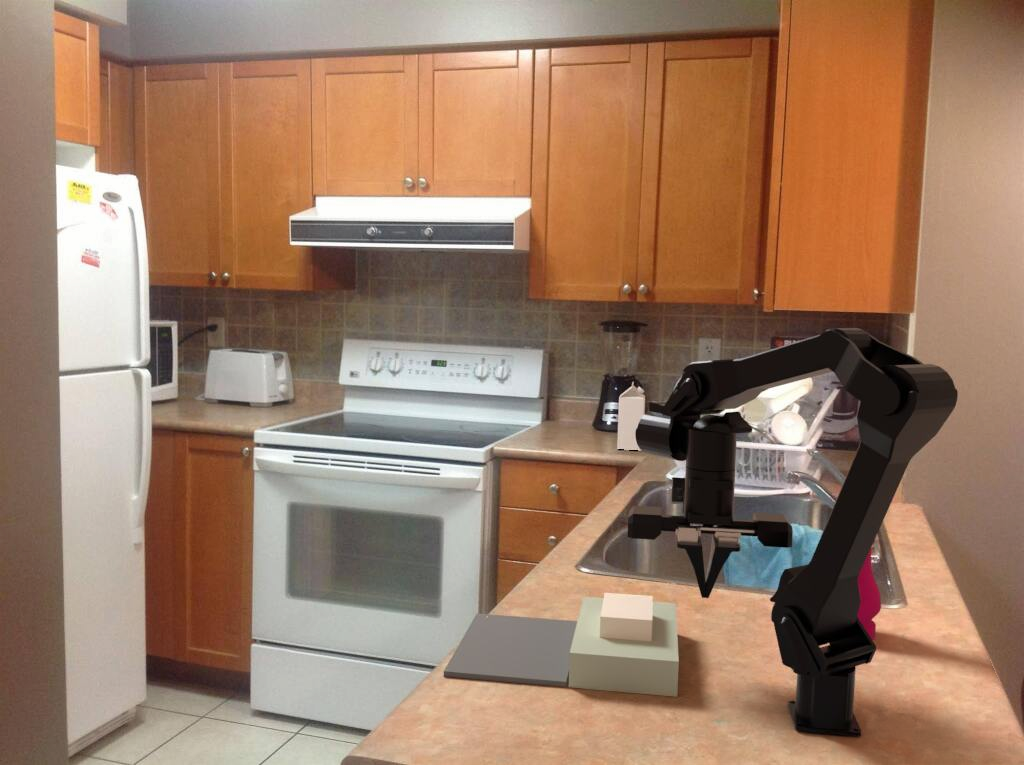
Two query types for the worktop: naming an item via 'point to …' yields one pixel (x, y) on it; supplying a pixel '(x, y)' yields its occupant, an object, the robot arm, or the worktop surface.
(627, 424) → the milk carton
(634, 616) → the tilted white rectangular prism
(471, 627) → the mat
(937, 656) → the worktop surface
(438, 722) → the worktop surface
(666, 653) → the block
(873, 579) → the pepper mill
